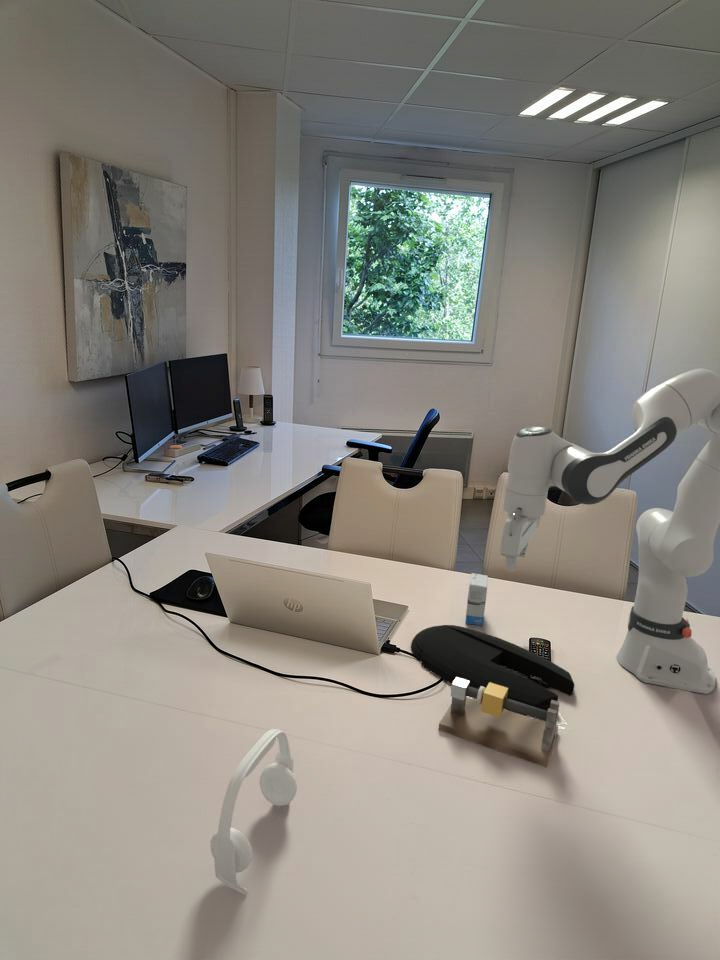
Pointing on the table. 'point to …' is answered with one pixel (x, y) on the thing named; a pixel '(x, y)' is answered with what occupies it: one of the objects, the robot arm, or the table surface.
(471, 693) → the dark grey rod
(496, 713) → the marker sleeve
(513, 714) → the slider rail assembly
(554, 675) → the black u-shaped plate
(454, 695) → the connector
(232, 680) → the table surface
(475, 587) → the ink box
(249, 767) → the headset
